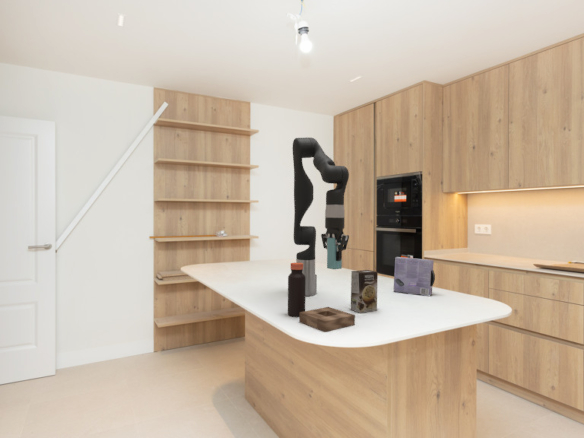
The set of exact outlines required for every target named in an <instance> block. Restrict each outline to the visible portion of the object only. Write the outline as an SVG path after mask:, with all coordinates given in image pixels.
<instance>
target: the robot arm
mask: <svg viewBox="0 0 584 438" xmlns="http://www.w3.org/2000/svg"><path fill="white" fill-rule="evenodd" d="M309 158H310V159H311V158H313V159H312V164H313V165H314V166H313V167H314V168H315V169H316V170H317V171H318V172H319V173H320V175H321V179H322V181H323V182H324V183H325V184H334V185H335V184H336V186H335V188H334V189H329V190H327V191H326V193H325V194H326V195H325V211H324V212H325V213H324V219H325V220H324V228H325V229H326V231H325V233H321V234H320V237H321V242H322V246H323V249H326V250H327V238H335V245H336V261H341V259H342V260H343V257H342V255H343V251H346V250H347V246H348V242H349V239H350V235H346V234H345V233H344V229H345V215H346V214H345V192H346V189H347V185H348V181H349V177H350V173H349V169H348V168H347V167H346V166H344V165H336V163H335V161H334V160H333V159H332V158H331V157H329V156H328V155H327V154H326V152H325V151H324V150H323V148H322V146H321V145H320V144H319V142H318V140H317V139H316V138H314V137H295V138H294V139H293V141H292V162H293V177H294V178H293V204H294V218H293V219H294V221H293V242H294V245H297V246H308V248H306V249H305V250H302V251H299V252H297V253H296V260H295V261H296V262H295V263H303V271H302V273H303V274H304V275H305V277H306V278H305V297H311V296H315V295H317V293H318V290H317V289H318V287H317V285H318V284H317V282H318V281H317V278H318V276H317V274H316V244H317V243H316V241H317V229H316V227H315V226H314V225H313V226H310V225H308V226H307V225H301V223H302V221H303V218H304V216H305V214H306V213H307V211H308V210H309V208H310V207H311V206H312V203H313V201H314V184H313V182H312V180H311V179H310V177H309V176H308V174H307V173H306V170H305V168H304V164H303V159H309ZM337 242H340V243H337ZM338 245H339V246H340V247H339V246H338Z"/></svg>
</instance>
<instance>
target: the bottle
mask: <svg viewBox="0 0 584 438" xmlns="http://www.w3.org/2000/svg"><path fill="white" fill-rule="evenodd" d="M302 271H303V263H296V262H290V272H291V273H289V275H288V277H287V315H288V316H290V317H293V318H294V317H297V318H299V312H304V311H306V296H305V278H306V277H305V275H304V274H303V273H302Z"/></svg>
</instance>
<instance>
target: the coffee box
mask: <svg viewBox="0 0 584 438" xmlns="http://www.w3.org/2000/svg"><path fill="white" fill-rule="evenodd" d="M378 276H379V275H378V271H375V270H370V269H364V270H363V269H362V270H352V271H351V275H350V277H351V281H350V283H351V284H350V285H351V286H350V310H351V311H354V312H355V313H356V312H357V313H358V312H359V314H361V313H362V312H363V313H369V311H370V312H374V311H375V312H376V310H377V311H378ZM363 313H362V314H363Z"/></svg>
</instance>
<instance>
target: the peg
mask: <svg viewBox="0 0 584 438" xmlns="http://www.w3.org/2000/svg"><path fill="white" fill-rule="evenodd" d="M337 243H340V242H337ZM326 245H327V249H326V254H327V255H326V263H327V264H326V269H331V270H340V269H343V267H342V266H343V263H342V261H343V258H342V259H341V261H336V245H335V238H327V244H326ZM338 246H339V245H338ZM339 247H340V246H339Z"/></svg>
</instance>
